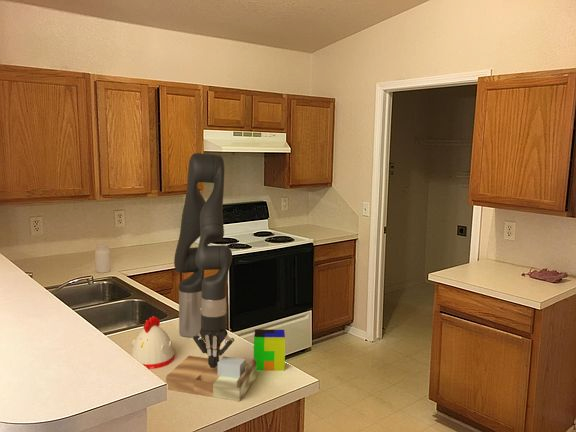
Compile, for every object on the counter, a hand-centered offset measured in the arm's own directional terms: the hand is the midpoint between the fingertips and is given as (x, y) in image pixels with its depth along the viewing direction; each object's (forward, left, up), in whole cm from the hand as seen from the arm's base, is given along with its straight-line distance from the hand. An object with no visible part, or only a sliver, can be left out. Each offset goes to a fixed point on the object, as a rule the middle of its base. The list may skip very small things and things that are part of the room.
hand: (213, 366), depth 146 cm
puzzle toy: (-18, +12, -6) cm, 23 cm away
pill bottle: (-100, -110, -6) cm, 149 cm away
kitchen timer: (-9, -26, -6) cm, 28 cm away
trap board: (0, 0, -5) cm, 5 cm away
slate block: (0, +6, -1) cm, 6 cm away
